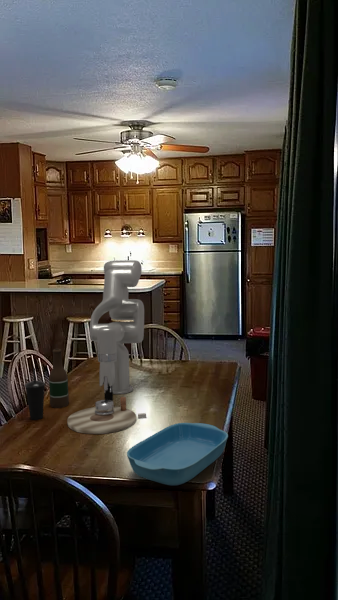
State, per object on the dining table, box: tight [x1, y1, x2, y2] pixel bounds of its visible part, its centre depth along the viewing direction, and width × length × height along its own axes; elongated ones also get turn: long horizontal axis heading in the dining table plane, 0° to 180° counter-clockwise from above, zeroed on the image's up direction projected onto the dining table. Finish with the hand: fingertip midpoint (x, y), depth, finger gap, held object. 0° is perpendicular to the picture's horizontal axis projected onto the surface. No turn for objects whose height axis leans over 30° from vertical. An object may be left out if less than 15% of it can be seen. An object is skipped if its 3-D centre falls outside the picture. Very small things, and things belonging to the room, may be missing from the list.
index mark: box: [137, 412, 147, 419], centre depth 203 cm, size 3×1×2 cm, turn 102°
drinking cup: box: [24, 367, 46, 421], centre depth 204 cm, size 8×8×20 cm
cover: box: [94, 399, 115, 416], centre depth 204 cm, size 8×8×4 cm
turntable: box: [66, 396, 137, 435], centre depth 199 cm, size 26×26×6 cm
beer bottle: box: [48, 348, 70, 409], centre depth 218 cm, size 8×8×24 cm
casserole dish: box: [126, 422, 229, 486], centre depth 161 cm, size 37×22×7 cm, turn 146°
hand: (108, 401), depth 213 cm, fingers closed
